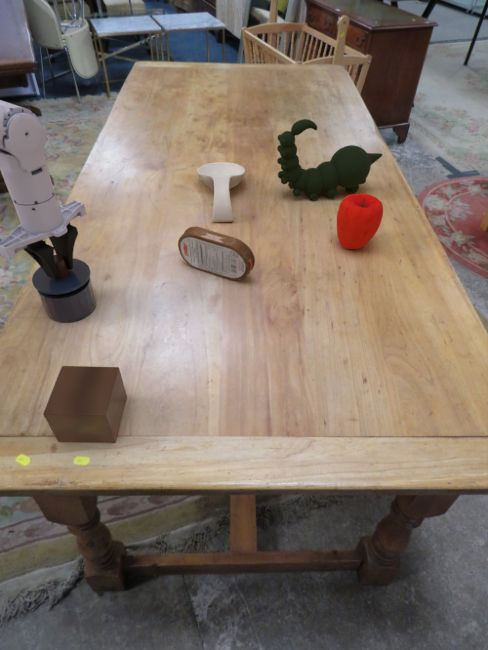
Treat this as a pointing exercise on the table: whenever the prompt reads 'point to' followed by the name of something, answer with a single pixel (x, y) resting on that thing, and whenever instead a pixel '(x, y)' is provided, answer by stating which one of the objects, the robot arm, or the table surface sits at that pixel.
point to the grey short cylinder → (70, 304)
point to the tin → (216, 253)
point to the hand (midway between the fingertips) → (60, 272)
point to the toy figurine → (322, 166)
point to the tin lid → (62, 277)
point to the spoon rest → (221, 186)
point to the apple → (358, 220)
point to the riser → (86, 404)
